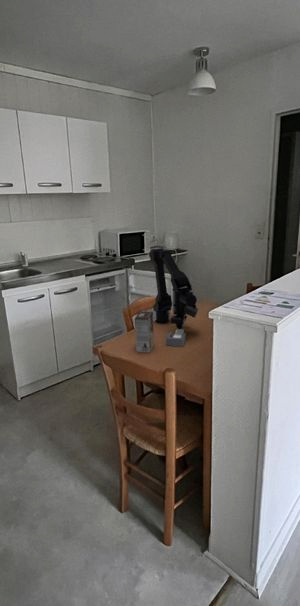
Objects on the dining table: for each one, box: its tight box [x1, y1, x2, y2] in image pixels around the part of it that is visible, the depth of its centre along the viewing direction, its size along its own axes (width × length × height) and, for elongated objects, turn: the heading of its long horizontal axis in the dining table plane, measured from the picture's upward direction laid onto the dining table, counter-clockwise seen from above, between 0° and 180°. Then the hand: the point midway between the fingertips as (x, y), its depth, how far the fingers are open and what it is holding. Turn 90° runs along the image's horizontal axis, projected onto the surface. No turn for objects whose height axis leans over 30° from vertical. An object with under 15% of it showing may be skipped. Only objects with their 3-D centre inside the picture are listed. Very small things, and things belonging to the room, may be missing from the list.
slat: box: [172, 328, 185, 338], centre depth 170 cm, size 4×12×3 cm, turn 167°
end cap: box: [165, 330, 187, 348], centre depth 166 cm, size 8×8×4 cm
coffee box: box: [134, 311, 155, 353], centre depth 159 cm, size 9×6×16 cm
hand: (180, 331), depth 177 cm, fingers closed
